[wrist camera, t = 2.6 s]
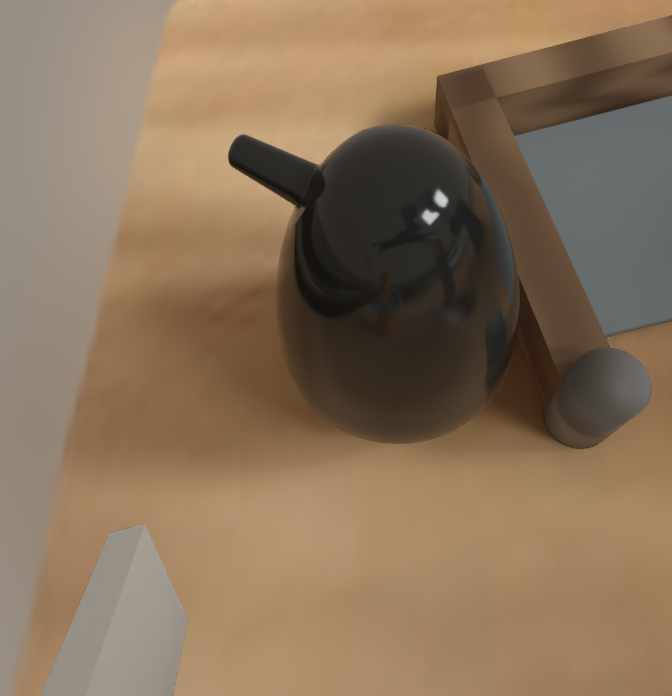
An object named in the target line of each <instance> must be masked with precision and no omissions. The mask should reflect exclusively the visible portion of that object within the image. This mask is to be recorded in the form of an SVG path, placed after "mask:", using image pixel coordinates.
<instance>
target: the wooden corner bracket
mask: <svg viewBox="0 0 672 696" xmlns="http://www.w3.org/2000/svg"><path fill="white" fill-rule="evenodd" d="M668 96H672V16H668V17H664V18H660V19H656V20H652V21H648V22H645V23H641V24H637V25H633V26H629V27H625V28H621V29H618V30H614V31H610V32H606V33H602V34H598V35H594V36H591V37H587V38H583V39H579V40H575V41H571V42H567V43H564V44H560V45H556V46H552V47H548V48H544V49H540V50H536V51H533V52H529V53H525V54H521V55H517V56H513V57H509V58H506V59H502V60H498V61H494V62H490V63H486V64H482V65H479V66H475V67H471V68H467V69H463V70H459V71H455V72H452V73H448V74H444V75H440V76H437V88H436V105H435V121H434V123H435V126H436V128H437V131H438V134H439V135H440V136H442V137H444V138H445V139H447V140H448V141H450V142H451V143H452V144H454V145H455V146H456V147H457V148H458V149H459V150H461V151H462V152H463V153H464V154H465V155H466V156H467V157H468V158H469V159H470V161H471V162H472V163H473V164H474V165H475V166H476V168H477V169H478V170H479V172H480V173H481V175H482V176H483V178H484V179H485V181H486V182H487V184H488V186H489V188H490V189H491V191H492V193H493V195H494V197H495V199H496V202H497V204H498V206H499V208H500V211H501V213H502V216H503V218H504V221H505V224H506V227H507V230H508V233H509V236H510V239H511V243H512V246H513V250H514V255H515V259H516V265H517V270H518V278H519V289H520V312H519V325H518V334H517V337H518V340H519V342H520V345H521V347H522V350H523V353H524V355H525V358H526V360H527V363H528V365H529V368H530V371H531V373H532V376H533V378H534V381H535V383H536V386H537V389H538V391H539V394H540V396H541V399H542V401H543V404H544V407H545V409H544V419H545V423H546V426H547V428H548V430H549V432H550V433H551V434H552V436H553V437H554V438H555V439H557V440H558V441H559V442H561V443H562V444H564V445H566V446H569V447H572V448H579V449H584V448H590V447H593V446H595V445H597V444H599V443H600V442H601V441H603V440H604V439H605V438H607V437H608V436H609V435H611V434H612V433H613V432H615V431H616V430H617V429H618V428H620V427H621V426H622V425H624V424H625V423H626V422H628V421H629V420H630V419H631V418H633V417H634V416H635V415H637V414H638V413H639V412H640V411H642V410H643V409H644V407H645V406H646V405H647V403H648V401H649V399H650V396H651V381H650V377H649V375H648V373H647V371H646V369H645V368H644V366H643V365H642V364H641V363H640V362H639V361H638V360H637V359H636V358H635V357H633V356H632V355H631V354H629V353H627V352H625V351H622V350H619V349H615V348H610V345H609V343H608V341H607V339H606V337H605V334H604V332H603V330H602V328H601V326H600V323H599V321H598V319H597V317H596V315H595V312H594V310H593V308H592V306H591V304H590V302H589V299H588V297H587V295H586V293H585V291H584V288H583V286H582V284H581V282H580V280H579V277H578V275H577V273H576V271H575V269H574V266H573V264H572V262H571V260H570V258H569V255H568V253H567V251H566V249H565V247H564V244H563V242H562V240H561V238H560V236H559V233H558V231H557V229H556V227H555V225H554V223H553V220H552V218H551V216H550V214H549V212H548V209H547V207H546V205H545V203H544V201H543V198H542V196H541V194H540V192H539V190H538V187H537V185H536V183H535V181H534V179H533V176H532V174H531V172H530V170H529V168H528V165H527V163H526V161H525V159H524V157H523V155H522V152H521V150H520V148H519V146H518V144H517V141H516V139H515V137H514V136H517V135H521V134H524V133H528V132H532V131H536V130H540V129H544V128H548V127H552V126H556V125H559V124H563V123H567V122H571V121H575V120H579V119H583V118H587V117H591V116H594V115H598V114H602V113H606V112H610V111H614V110H618V109H622V108H626V107H629V106H633V105H637V104H641V103H645V102H649V101H653V100H657V99H661V98H664V97H668Z"/></svg>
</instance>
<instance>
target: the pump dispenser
mask: <svg viewBox="0 0 672 696" xmlns="http://www.w3.org/2000/svg"><path fill="white" fill-rule="evenodd" d="M228 160H229V163H230V165H231V166H232V167H233V168H235V169H236V170H238V171H240V172H241V173H243V174H244V175H246V176H248V177H249V178H251V179H253V180H254V181H256V182H258V183H259V184H261V185H263V186H264V187H266V188H268V189H269V190H271V191H272V192H274V193H276V194H277V195H279V196H281V197H282V198H284V199H286V200H287V201H289V202H290V203H292V204H293V205H295V209H294V211H293V213H292V215H291V218H290V221H289V223H288V226H287V229H286V232H285V236H284V239H283V243H282V248H281V252H280V258H279V264H278V273H277V285H276V307H277V319H278V327H279V334H280V340H281V345H282V350H283V354H284V358H285V361H286V364H287V367H288V369H289V372H290V374H291V376H292V378H293V380H294V382H295V384H296V386H297V388H298V390H299V391H300V393H301V394H302V396H303V397H304V398H305V400H306V401H307V402H308V404H309V405H310V406H311V407H312V408H313V409H314V410H315V411H316V412H317V413H318V414H319V415H320V416H321V417H323V418H324V419H325V420H326V421H328V422H329V423H331V424H332V425H334V426H335V427H337V428H339V429H340V430H342V431H344V432H347V433H349V434H351V435H354V436H356V437H359V438H362V439H366V440H370V441H374V442H380V443H389V444H407V443H416V442H422V441H427V440H430V439H434V438H437V437H440V436H442V435H445V434H447V433H450V432H452V431H454V430H456V429H457V428H459V427H461V426H462V425H464V424H466V423H467V422H468V421H470V420H471V419H472V418H474V417H475V416H476V415H477V414H478V413H479V412H481V411H482V410H483V409H484V408H485V406H486V405H487V404H488V403H489V402H490V401H491V399H492V398H493V397H494V395H495V394H496V392H497V391H498V389H499V388H500V386H501V384H502V382H503V380H504V378H505V376H506V374H507V372H508V369H509V367H510V364H511V361H512V358H513V354H514V351H515V346H516V340H517V334H518V325H519V312H520V289H519V278H518V270H517V265H516V259H515V255H514V250H513V246H512V243H511V239H510V236H509V233H508V230H507V227H506V224H505V221H504V218H503V216H502V213H501V211H500V208H499V206H498V204H497V202H496V199H495V197H494V195H493V193H492V191H491V189H490V188H489V186H488V184H487V182H486V181H485V179H484V178H483V176H482V175H481V173H480V172H479V170H478V169H477V168H476V166H475V165H474V164H473V163H472V162H471V161H470V159H469V158H468V157H467V156H466V155H465V154H464V153H463V152H462V151H461V150H459V149H458V148H457V147H456V146H455V145H454V144H452V143H451V142H450V141H448V140H447V139H445V138H444V137H442V136H440V135H438V134H436V133H434V132H432V131H430V130H427V129H424V128H421V127H418V126H413V125H406V124H386V125H379V126H375V127H371V128H368V129H365V130H362V131H360V132H358V133H356V134H354V135H353V136H351V137H350V138H348V139H347V140H345V141H344V142H343V143H342V144H340V145H339V146H338V147H337V148H336V149H335V150H334V151H332V152H331V153H330V155H329V156H328V157H327V158H326V159H325V160H324V161H323V162H322V163H321V164H320V165H317V164H314V163H312V162H309V161H307V160H305V159H302V158H300V157H297V156H295V155H293V154H290V153H288V152H286V151H283V150H281V149H278V148H276V147H274V146H271V145H269V144H267V143H264V142H262V141H260V140H257V139H255V138H252V137H250V136H248V135H244V134H243V135H240V136H238V137H237V138H236V139H235V140H234V141H233V143H232V145H231V147H230V150H229V154H228Z"/></svg>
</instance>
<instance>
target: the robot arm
mask: <svg viewBox="0 0 672 696" xmlns="http://www.w3.org/2000/svg"><path fill="white" fill-rule="evenodd" d="M187 622H188V619H187V617H186V614H185V612H184V610H183V608H182V605H181V603H180V601H179V599H178V597H177V594H176V592H175V590H174V588H173V585H172V583H171V581H170V579H169V576H168V574H167V572H166V570H165V567H164V565H163V563H162V561H161V558H160V556H159V554H158V552H157V549H156V547H155V545H154V543H153V540H152V538H151V536H150V534H149V532H148V529H147V527H146V525H145V524H142V525H138V526H134V527H130V528H126V529H122V530H119V531H115V532H111V533H110V534H109V536H108V538H107V541H106V543H105V545H104V548H103V550H102V553H101V555H100V557H99V560H98V562H97V564H96V567H95V569H94V571H93V574H92V576H91V578H90V581H89V583H88V586H87V588H86V590H85V593H84V595H83V597H82V600H81V602H80V604H79V607H78V609H77V611H76V614H75V616H74V619H73V621H72V623H71V626H70V628H69V630H68V633H67V635H66V637H65V640H64V642H63V645H62V647H61V649H60V652H59V654H58V656H57V659H56V661H55V663H54V666H53V668H52V670H51V673H50V675H49V678H48V680H47V682H46V685H45V687H44V689H43V692H42V694H41V696H173V695H174V690H175V684H176V679H177V674H178V669H179V663H180V658H181V653H182V648H183V643H184V637H185V632H186V627H187Z"/></svg>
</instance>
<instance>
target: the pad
mask: <svg viewBox="0 0 672 696" xmlns="http://www.w3.org/2000/svg"><path fill="white" fill-rule="evenodd" d="M514 137H515V139H516V141H517V144H518V146H519V148H520V150H521V152H522V155H523V157H524V159H525V161H526V163H527V165H528V168H529V170H530V172H531V174H532V176H533V179H534V181H535V183H536V185H537V187H538V190H539V192H540V194H541V196H542V198H543V201H544V203H545V205H546V207H547V209H548V212H549V214H550V216H551V218H552V220H553V223H554V225H555V227H556V229H557V231H558V233H559V236H560V238H561V240H562V242H563V244H564V247H565V249H566V251H567V253H568V255H569V258H570V260H571V262H572V264H573V266H574V269H575V271H576V273H577V275H578V277H579V280H580V282H581V284H582V286H583V288H584V291H585V293H586V295H587V297H588V299H589V302H590V304H591V306H592V308H593V310H594V312H595V315H596V317H597V319H598V321H599V323H600V326H601V328H602V330H603V332H604V334H605V337H608V336H612V335H616V334H620V333H624V332H628V331H632V330H636V329H640V328H644V327H648V326H652V325H656V324H660V323H663V322H667V321H671V320H672V96H668V97H664V98H661V99H657V100H653V101H649V102H645V103H641V104H637V105H633V106H629V107H626V108H622V109H618V110H614V111H610V112H606V113H602V114H598V115H594V116H591V117H587V118H583V119H579V120H575V121H571V122H567V123H563V124H559V125H556V126H552V127H548V128H544V129H540V130H536V131H532V132H528V133H524V134H521V135H517V136H514Z"/></svg>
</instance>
